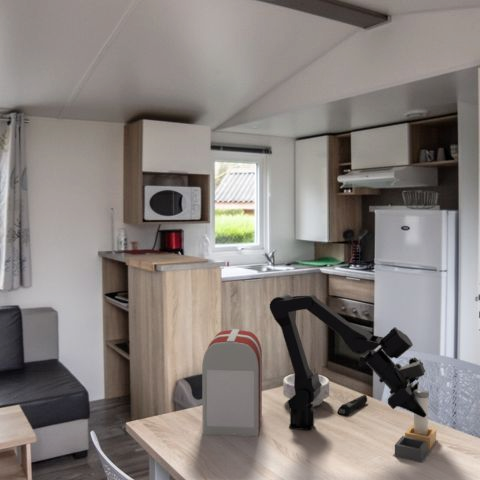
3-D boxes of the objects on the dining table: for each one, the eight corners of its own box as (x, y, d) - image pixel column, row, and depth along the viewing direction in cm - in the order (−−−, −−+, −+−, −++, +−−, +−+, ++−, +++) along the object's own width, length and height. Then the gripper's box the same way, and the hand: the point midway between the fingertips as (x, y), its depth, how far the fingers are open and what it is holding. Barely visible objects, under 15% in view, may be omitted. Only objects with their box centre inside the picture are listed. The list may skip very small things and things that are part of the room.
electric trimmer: (370, 405, 185) (370, 395, 185) (346, 417, 174) (346, 407, 173) (360, 402, 188) (360, 393, 188) (336, 414, 176) (336, 404, 176)
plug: (415, 441, 150) (416, 393, 149) (411, 435, 154) (412, 389, 153) (429, 441, 150) (430, 394, 149) (425, 435, 154) (426, 389, 153)
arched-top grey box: (262, 413, 176) (262, 328, 175) (259, 436, 159) (259, 342, 157) (210, 412, 178) (210, 327, 176) (201, 434, 160) (200, 341, 159)
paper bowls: (285, 411, 178) (285, 386, 178) (281, 395, 194) (281, 372, 193) (332, 410, 179) (333, 386, 178) (325, 395, 194) (325, 372, 193)
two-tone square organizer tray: (422, 467, 139) (422, 451, 139) (392, 459, 144) (392, 444, 143) (438, 444, 153) (438, 430, 153) (410, 438, 157) (410, 424, 157)
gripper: (401, 359, 144) (445, 407, 140) (412, 343, 161) (452, 386, 157) (370, 384, 148) (412, 433, 144) (383, 366, 165) (422, 409, 160)
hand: (426, 413), depth 151 cm, fingers closed on plug, 4 cm apart
